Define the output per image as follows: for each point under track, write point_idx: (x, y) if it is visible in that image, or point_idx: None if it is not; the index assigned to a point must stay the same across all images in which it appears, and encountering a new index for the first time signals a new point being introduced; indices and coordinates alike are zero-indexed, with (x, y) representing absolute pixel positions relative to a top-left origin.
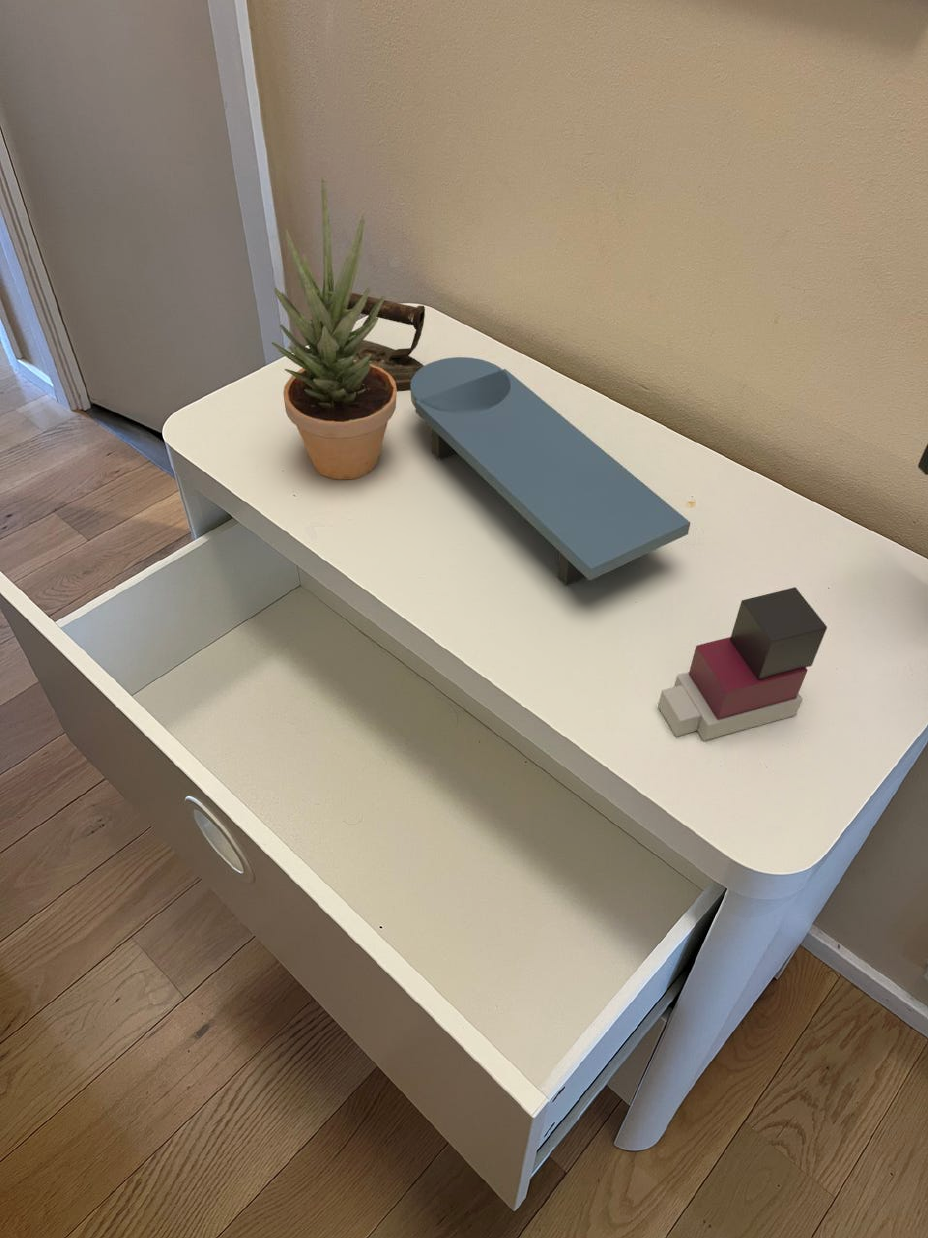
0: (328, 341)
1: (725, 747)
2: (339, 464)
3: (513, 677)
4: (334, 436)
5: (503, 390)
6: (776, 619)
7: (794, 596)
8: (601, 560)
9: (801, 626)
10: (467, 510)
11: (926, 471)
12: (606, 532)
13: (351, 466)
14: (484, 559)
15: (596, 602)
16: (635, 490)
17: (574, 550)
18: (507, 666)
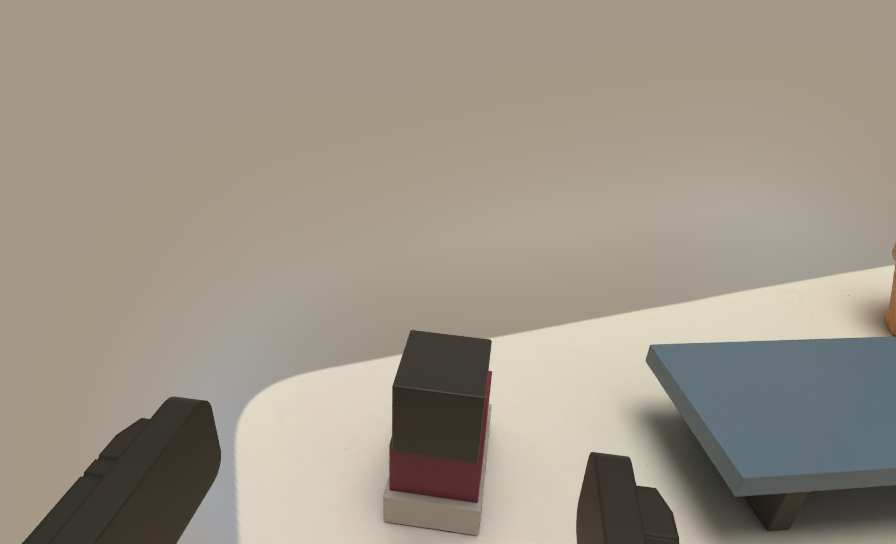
0: None
1: None
2: (890, 302)
3: (562, 335)
4: (893, 254)
5: None
6: (440, 350)
7: (467, 386)
8: (664, 357)
9: (413, 364)
10: None
11: (578, 512)
12: (722, 382)
13: (894, 312)
14: None
15: (654, 430)
16: (834, 452)
17: (687, 344)
18: (577, 336)
